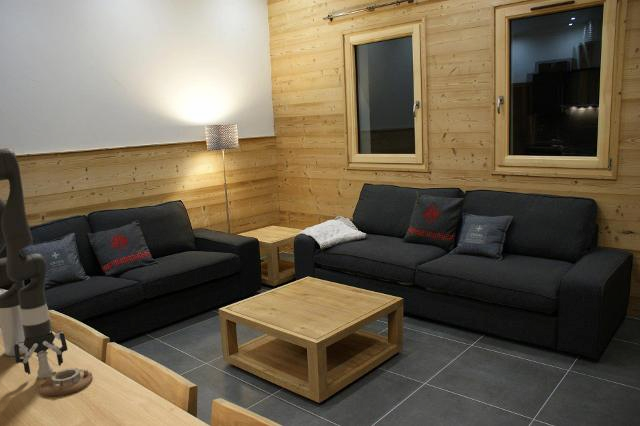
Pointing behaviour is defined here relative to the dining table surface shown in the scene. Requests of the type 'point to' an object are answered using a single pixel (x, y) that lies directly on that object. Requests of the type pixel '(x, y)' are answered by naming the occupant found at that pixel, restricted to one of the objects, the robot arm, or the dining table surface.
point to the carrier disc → (66, 382)
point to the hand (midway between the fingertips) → (44, 368)
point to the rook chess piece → (43, 365)
